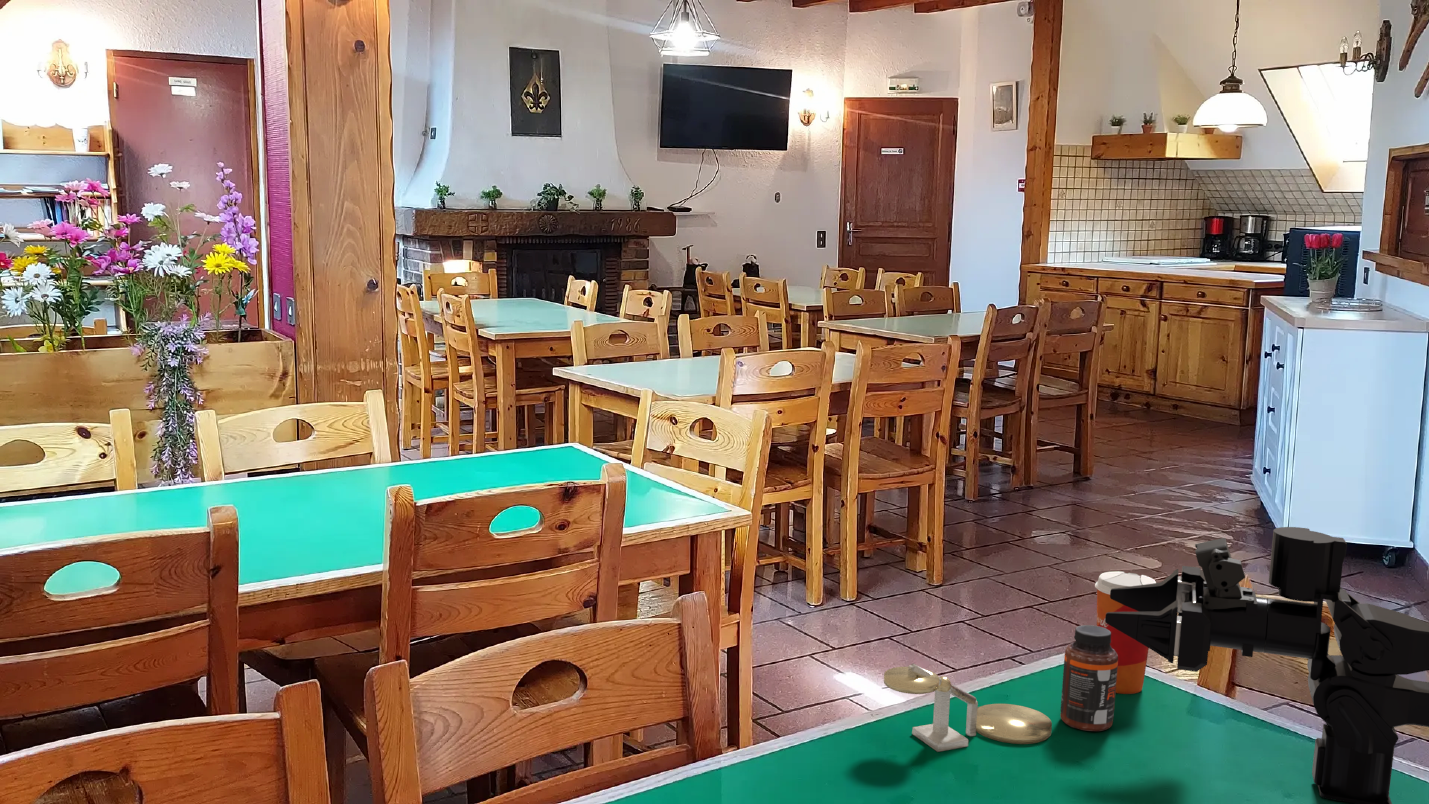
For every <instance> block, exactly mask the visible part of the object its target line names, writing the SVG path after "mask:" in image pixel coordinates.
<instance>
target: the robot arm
mask: <svg viewBox="0 0 1429 804" xmlns="http://www.w3.org/2000/svg"><path fill="white" fill-rule="evenodd" d="M1272 532H1273V534H1272V543H1271V553H1270V564H1269V575H1268V584H1270V585H1271V586H1272V587H1274V588H1277V589H1278V590H1277V591H1278V592H1277V594H1278V596H1280V597H1282V598H1284V599H1278V598H1269V597H1263V596H1257V594H1256V591H1255V590H1253V588H1250V587H1245V586H1244V587H1243V586H1241V585H1240V583H1241V582H1242V581H1243V580H1244V579H1246V574H1245V571H1244V568H1243V563H1242V561H1241V560H1240V559H1236V558H1232V555H1231V552H1230V548H1229V545H1228V542H1227V539H1226V537H1221V538H1218V539H1213V540H1207V541H1203V542H1198V543H1195V544H1194V547H1195V548H1196V549H1195V550H1194V551H1195V553H1194V554H1195V557H1196V560H1197V564H1198V566H1199V567H1196V566H1187V565H1181V575H1180V576H1179V568H1178V569H1174V570H1173V572H1172V573H1171V574H1170V575H1169V576H1167V577H1166V578H1165V579H1164V580H1163V581H1160V582H1156V583H1153V584H1146V585H1138V586H1130V587H1122V588H1113V589H1111V591H1110V598H1111V599H1112V600H1114V601H1116V602H1119V603H1121V604H1123V605H1125V606H1127V607H1130V608H1132V609H1134V610H1137V611H1139V612H1107V613H1106V616H1105V622H1106V623H1107V624H1108V625H1110V626H1112V627H1114V628H1115V629H1117V630H1119V631H1121V632H1122V633H1124V634H1126V635H1128V636H1129V637H1131V638H1133V639H1135V640H1136V641H1138V642H1140V643H1141V644H1143V645H1145V646H1146V647H1148V648H1149V650H1151V651H1153V652H1154V653H1156V654H1158V655H1159V656H1161V657H1162V658H1164V659H1166V660H1167V663H1170V664H1174V661H1175V657H1177V660H1176V661H1177V662H1176V663H1177V664H1176V666H1177V667H1176V670H1180V671H1181V670H1182V671H1187V672H1188V671H1189V672H1196V673H1198V672H1199V671H1200V670H1202V669H1203V668H1204V667H1205V666H1207V665H1208V659H1209V652H1211V647H1218V648H1224V649H1232V650H1233V649H1234V650H1240V651H1241V656H1243V657H1249V658H1253V656H1254V652H1255V653H1264V654H1269V655H1277V656H1284V657H1292V658H1293V657H1294V658H1300V659H1306V660H1307V666H1306V667H1307V670H1308V676H1307V684H1308V689H1309V693H1310V697H1311V701H1312V704H1313V708H1314V710H1315V712H1316V713H1317V715H1318V717H1320V719H1321V720H1322V721H1323V722H1324V723H1323V724H1322V734H1321V737H1317V738H1315V741H1314V742H1315V743H1314V750H1313V759H1312V761H1313V762H1312V768H1311V769H1312V770H1311V772H1312V773H1311V775H1312V778H1313V779H1312V780H1313V782H1314V784H1315V785H1316V786H1317V789H1318V791H1319V796H1320V797H1321V798H1323V799H1327V800H1333V801H1340V802H1345V803H1351V804H1393V803H1392V800H1391V798H1390V790H1391V788H1390V787H1391V780H1392V773H1393V772H1392V771H1393V763H1394V753H1395V747H1396V744H1397V743H1398V741H1399V736H1398V733H1397V731H1396V730H1397V729H1396V728H1398V727H1402V726H1419V727H1423V728H1424V727H1426V728H1429V681H1422V680H1416V679H1411V678H1407V677H1404V676H1402V675H1406V676H1407V675H1412V674H1417V673H1422V672H1427V671H1429V622H1427V621H1424V620H1421V619H1419V618H1417V617H1414V616H1411V615H1408V614H1406V613H1403V612H1400V611H1398V610H1397V611H1396V610H1394V609H1389V608H1387V607H1383V606H1382V607H1381V606H1378V605H1375V604H1370V603H1360V602H1359V601H1358V600H1357V599H1356V598H1354V597H1353V596H1352V595H1351V594H1350V593H1348V592H1347V590H1346V589H1344V588H1342V587H1341V583H1342V575H1343V574H1342V573H1343V565H1344V560H1345V557H1346V556H1347V547H1348V544H1347V542H1346V540H1345V539H1344V538H1343V537H1337V536H1333V535H1328V533H1327V534H1326V533H1323V532H1318V531H1314V530H1310V528H1308V527H1307V528H1306V527H1297V526H1281V527H1276V528H1274V529H1273V531H1272ZM1286 599H1287V600H1286ZM1324 601H1325V602H1326V605H1327V608H1328V610H1329V613H1330V616H1331V618H1332V621H1333V623H1334V624H1333V632H1334V634H1333V635H1334V637H1335V640H1336V643H1337V646H1338V648H1339V651H1340V654H1341V655H1340V654H1339V655H1338V654H1337V655H1331V654H1329V648H1330V638H1331V627H1330V626H1329V625H1327V624H1326V623H1324V622H1322V617H1323V607H1324ZM1309 602H1310V603H1309ZM1311 602H1312V603H1311Z"/></svg>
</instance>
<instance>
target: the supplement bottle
mask: <svg viewBox="0 0 1429 804" xmlns="http://www.w3.org/2000/svg"><path fill="white" fill-rule="evenodd" d="M1074 640H1075V641H1074V642H1071V643H1070V644H1068V645H1067V647H1065V652H1064V657H1063V658H1064V659H1063V660H1064V661H1063V670H1062V671H1063V672H1062V683H1061V685H1062V686H1061V687H1062V688H1061V699H1060V719H1061V720H1062V722H1064V724H1066V725H1067V726H1069V727H1071V728H1073V729H1077V730H1079V731H1086V732H1102V731H1106V730H1108V729H1110V728H1111V727H1112V726H1113V722H1114V717H1115V715H1114V714H1115V704H1116V693H1115V691H1116V681H1117V668H1118V655H1117V653H1116V651H1115V650H1114V649H1113V648H1112V647H1111V645H1110V643H1111V632H1110V631H1109V630H1108V629H1106V628H1103V627H1099V626H1097V625H1092V624H1086V625H1085V624H1083V625H1082V624H1081V625H1079V626H1076V627H1075V631H1074Z"/></svg>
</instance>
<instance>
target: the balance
mask: <svg viewBox="0 0 1429 804" xmlns="http://www.w3.org/2000/svg"><path fill="white" fill-rule="evenodd" d="M883 684H884V685H885V686H886V687H887V688H889V689H890V690H893V691H895V692H899V693H901V694H902V693H903V694H910V695H924V694H930V693H933V692H934V700H933V701H934V703H933V719H932V723H931V724H930V723H929V724H925V725H919V726H912V731H911V734H912V735H913V736H914V737H916V738H917V739H919V740H920V741H921V742H923V743H924V744H926V745H928V746H929V747H930V748H932V749H933V750H934V751H936V752H937V753H938V752H944V751H949V750H956V749H961V748H966V747H969V739H968V738H967V737H965V736H964V735H962V733H961V734H960V733H959V732H958V731H956V730H955V729H953V728H952V727H950V726H949V721H950V719H949V718H950V717H949V715H950V703H951V702H950V701H951V695H952V696H954V697H955V698H958V699H959V700H961V701H962V702H964V703H966V704H967V705H966V706H967V707H966V724H965V727H966V728H965V734H966V736H969V737H975V736H977V733H978V734H980V735H981V736H983V737H985V738H988V739H991V740H994V741H998V742H1002V743H1008V744H1014V745H1015V744H1016V745H1028V744H1029V745H1030V744H1037V743H1041V742H1044V741H1046V740H1048V739H1049V738H1050V737H1051V735H1052V727H1053V723H1052V720H1051V719H1050V718H1049V716H1047V715H1046V714H1044V713H1043V712H1041V711H1039V710H1036V709H1033V708H1030V707H1027V706H1023V705H1018V704H1011V703H992V704H991V703H990V704H984V705H981V706H978V705H979V704H978V703H979V702H978V701H977V698H976V697H975V696H974V695H972V694H970V693H969V692H966V691H965V690H963V689H961V688H959V687H958V686H956V685H953V684H952V682H951V680H950V679H949V677H947V676H943V675H942V676H939V675H938V674H936V673H935V672H933V671H931V670H929V669H925V668H923V667H921V666H919V665H917V664H915V663H911V664H910V665H908V666H896V667H892V668H889V669H886V671H884V674H883Z"/></svg>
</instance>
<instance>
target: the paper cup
mask: <svg viewBox="0 0 1429 804" xmlns="http://www.w3.org/2000/svg"><path fill="white" fill-rule="evenodd" d="M1153 583H1157V581H1156V580H1155V579H1154V578H1153V577H1149V576H1148V575H1145V574H1141V575H1139V574H1138V573H1133V572H1128V573H1126V572H1125V571H1118V570H1117V571H1105V572H1103V573H1100V575H1099V576H1098V579H1097V581H1095V584H1094V588H1095V589H1096V626H1099V627H1103V628H1106V629H1108V630H1109V631H1110V632H1111V643H1110V645H1111V647H1112V648H1113V649H1114V650H1115V651H1116V653H1117V655H1118V668H1117V681H1116V691H1115V694H1121V695H1122V694H1123V695H1134V694H1138V693H1141V692H1142V690H1143V686H1144V682H1145V681H1144V680H1145V674H1146V670H1147V669H1146V668H1147V663H1148V656H1149V655H1148V654H1149V650H1150V649H1149V648H1148V647H1146V646H1145V645H1143V644H1141V643H1140V642H1138V641H1136V640H1135V639H1133V638H1131V637H1129V636H1128V635H1126V634H1124V633H1122V632H1121V631H1119V630H1117V629H1115V628H1114V627H1112V626H1110V625H1108V624H1107V623H1106V622H1105V616H1106V613H1107V612H1139V611H1137V610H1134V609H1132V608H1130V607H1127V606H1125V605H1123V604H1121V603H1119V602H1116V601H1114V600H1112V599H1111V598H1110V591H1111V589H1113V588H1122V587H1130V586H1138V585H1146V584H1153Z"/></svg>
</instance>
